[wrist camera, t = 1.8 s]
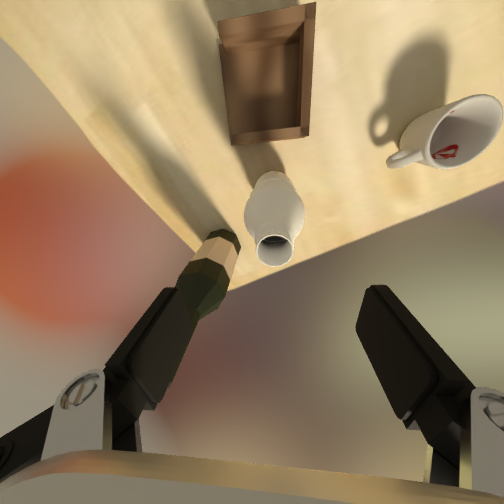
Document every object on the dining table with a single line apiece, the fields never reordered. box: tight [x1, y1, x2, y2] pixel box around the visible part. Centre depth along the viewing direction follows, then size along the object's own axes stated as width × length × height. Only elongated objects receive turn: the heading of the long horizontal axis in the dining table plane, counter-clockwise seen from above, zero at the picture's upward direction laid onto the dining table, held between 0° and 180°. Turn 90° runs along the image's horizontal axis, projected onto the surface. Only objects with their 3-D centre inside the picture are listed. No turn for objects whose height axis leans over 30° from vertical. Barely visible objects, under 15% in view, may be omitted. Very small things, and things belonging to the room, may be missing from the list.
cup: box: [386, 94, 503, 169], centre depth 26 cm, size 11×8×8 cm
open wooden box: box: [218, 2, 316, 145], centre depth 26 cm, size 12×12×6 cm
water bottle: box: [244, 171, 305, 267], centre depth 25 cm, size 7×7×25 cm
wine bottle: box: [167, 229, 241, 388], centre depth 30 cm, size 8×8×30 cm
